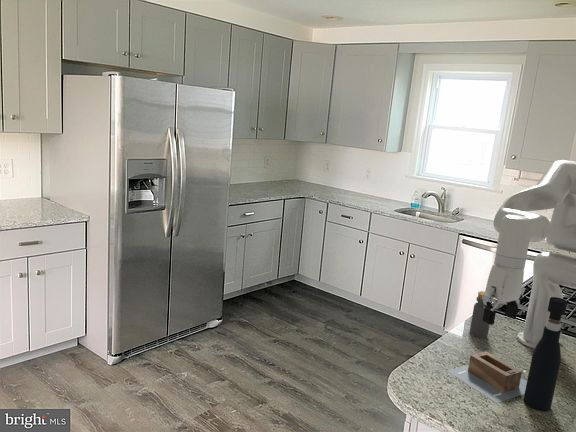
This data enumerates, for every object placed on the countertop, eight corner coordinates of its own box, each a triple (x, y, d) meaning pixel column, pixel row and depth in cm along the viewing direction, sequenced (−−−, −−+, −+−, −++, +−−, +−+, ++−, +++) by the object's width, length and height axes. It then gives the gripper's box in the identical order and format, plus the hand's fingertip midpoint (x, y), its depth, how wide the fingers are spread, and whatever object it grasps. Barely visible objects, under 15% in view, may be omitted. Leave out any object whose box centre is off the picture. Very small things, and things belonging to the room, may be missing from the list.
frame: (483, 366, 146) (485, 350, 145) (518, 388, 136) (522, 370, 134) (467, 371, 142) (470, 354, 141) (503, 392, 132) (506, 375, 131)
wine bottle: (553, 417, 125) (577, 306, 119) (526, 412, 126) (548, 302, 120) (545, 403, 131) (568, 297, 125) (519, 399, 132) (541, 293, 126)
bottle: (482, 340, 167) (489, 298, 164) (466, 333, 171) (473, 292, 168) (490, 335, 171) (497, 294, 167) (474, 329, 175) (481, 289, 172)
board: (488, 363, 151) (490, 352, 150) (539, 392, 136) (541, 380, 136) (446, 374, 142) (447, 362, 141) (495, 407, 128) (498, 394, 127)
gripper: (516, 253, 141) (506, 310, 145) (477, 260, 132) (467, 319, 135) (541, 261, 135) (530, 320, 138) (502, 268, 126) (491, 331, 129)
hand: (499, 319), depth 137 cm, fingers open, 9 cm apart
